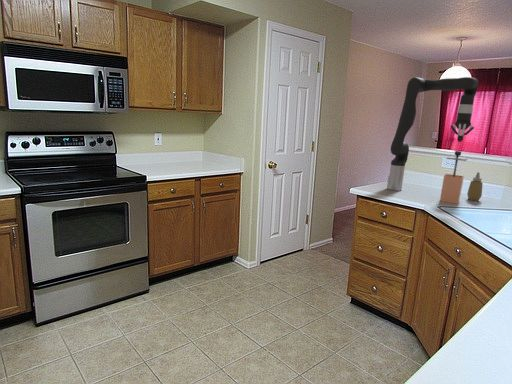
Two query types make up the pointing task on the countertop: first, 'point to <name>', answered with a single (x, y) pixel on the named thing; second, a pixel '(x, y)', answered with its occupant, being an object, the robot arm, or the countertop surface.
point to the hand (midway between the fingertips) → (459, 141)
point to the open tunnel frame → (451, 188)
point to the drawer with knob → (457, 153)
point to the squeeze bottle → (475, 188)
